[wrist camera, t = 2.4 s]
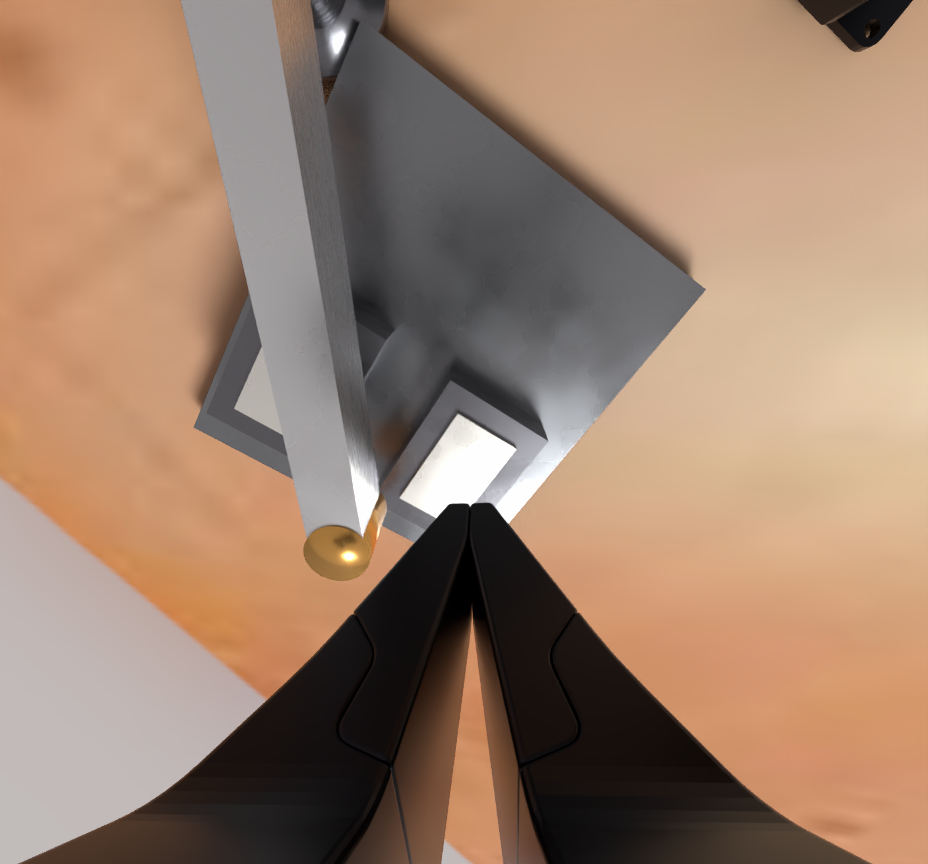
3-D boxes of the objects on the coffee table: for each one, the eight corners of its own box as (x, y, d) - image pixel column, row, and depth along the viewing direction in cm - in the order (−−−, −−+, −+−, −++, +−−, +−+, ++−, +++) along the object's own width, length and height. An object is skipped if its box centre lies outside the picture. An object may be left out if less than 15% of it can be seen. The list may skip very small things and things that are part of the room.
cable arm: (233, 6, 12) (152, -71, 9) (318, 1, 12) (266, -80, 9) (335, 528, 19) (310, 581, 16) (389, 527, 19) (373, 580, 16)
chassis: (368, 31, 15) (342, -18, 12) (694, 287, 18) (735, 295, 16) (205, 419, 22) (163, 447, 19) (468, 558, 25) (467, 600, 22)
